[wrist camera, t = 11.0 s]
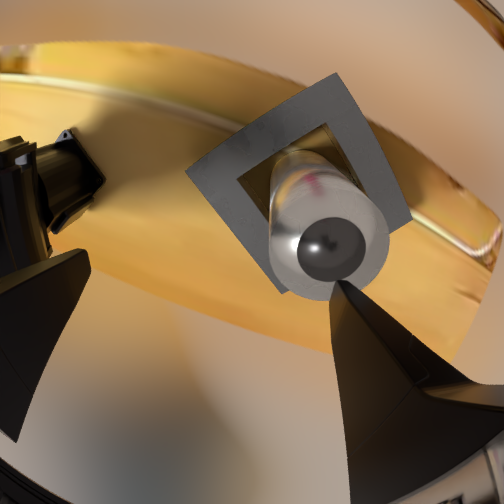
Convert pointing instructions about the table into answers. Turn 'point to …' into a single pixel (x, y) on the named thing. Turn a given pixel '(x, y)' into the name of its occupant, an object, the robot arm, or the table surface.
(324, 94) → the jig
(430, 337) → the table surface
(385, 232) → the ring
